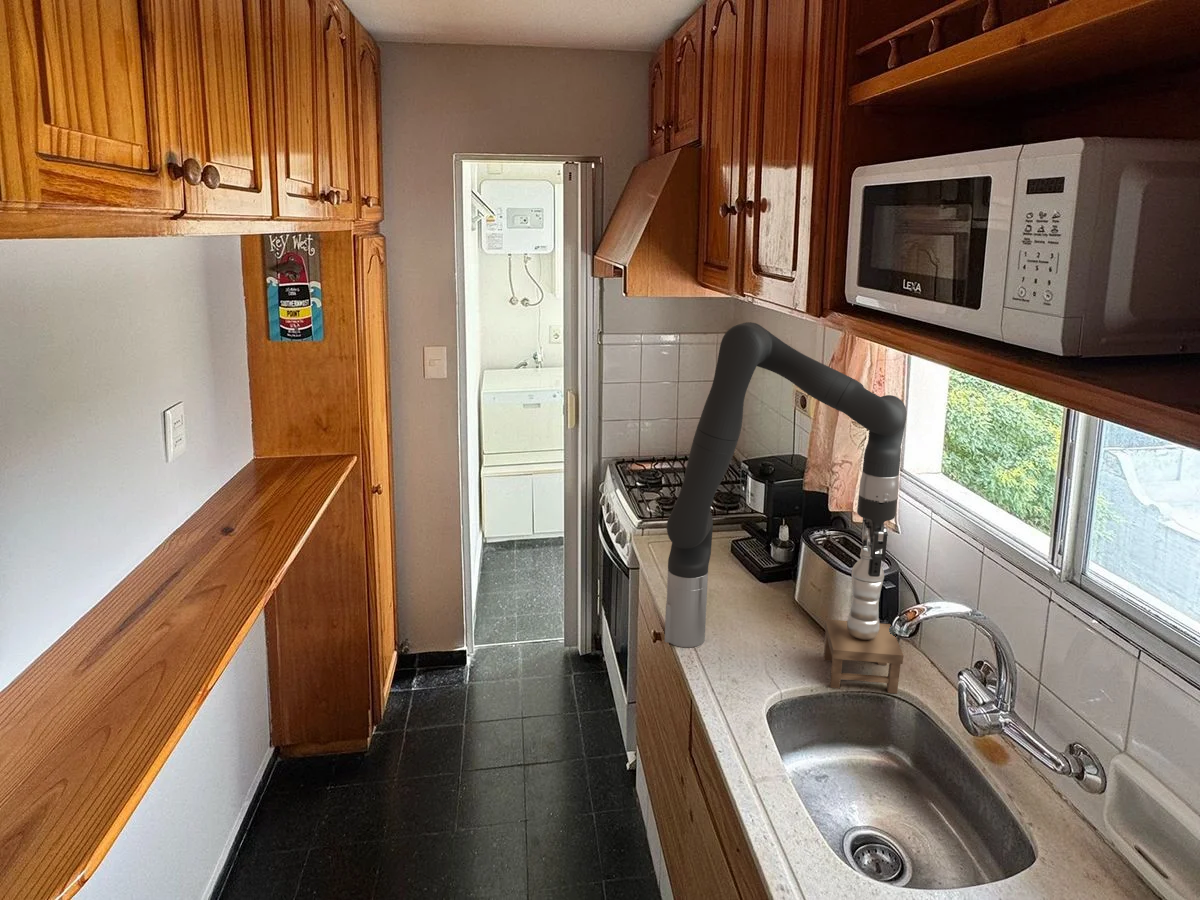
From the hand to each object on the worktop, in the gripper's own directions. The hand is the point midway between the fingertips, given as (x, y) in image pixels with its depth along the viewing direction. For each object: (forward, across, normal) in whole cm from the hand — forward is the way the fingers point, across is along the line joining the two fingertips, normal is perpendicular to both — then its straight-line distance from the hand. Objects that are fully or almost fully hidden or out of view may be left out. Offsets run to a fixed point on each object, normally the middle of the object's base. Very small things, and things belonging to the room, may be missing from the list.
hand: (870, 567), depth 173 cm
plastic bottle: (+16, 0, 0) cm, 16 cm away
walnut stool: (+25, 0, 0) cm, 25 cm away
